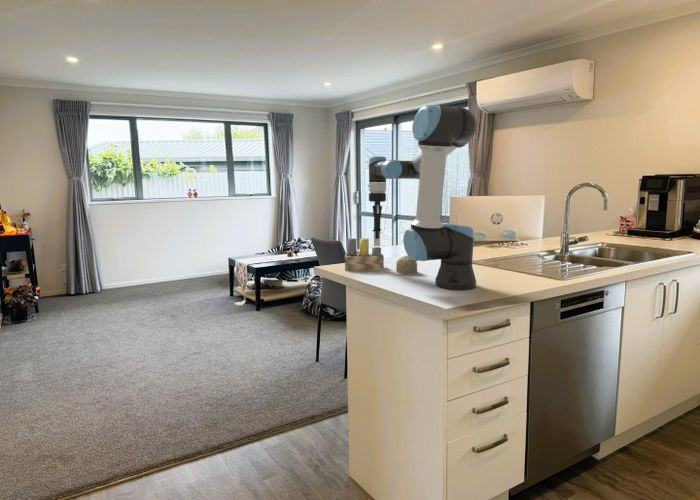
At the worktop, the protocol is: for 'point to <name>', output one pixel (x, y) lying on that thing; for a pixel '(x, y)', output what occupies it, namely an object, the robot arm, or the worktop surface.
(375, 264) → the socket block
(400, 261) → the sponge
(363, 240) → the mustard plug
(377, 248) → the grey plug
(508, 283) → the worktop surface
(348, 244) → the grey plug
